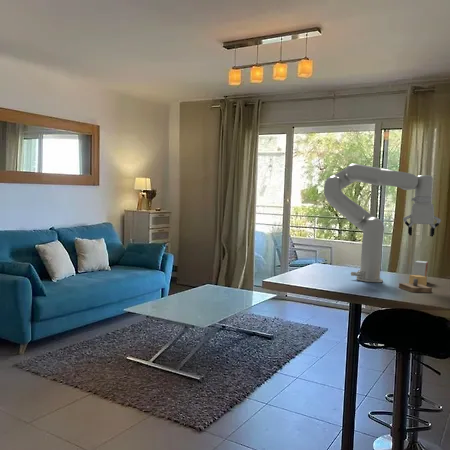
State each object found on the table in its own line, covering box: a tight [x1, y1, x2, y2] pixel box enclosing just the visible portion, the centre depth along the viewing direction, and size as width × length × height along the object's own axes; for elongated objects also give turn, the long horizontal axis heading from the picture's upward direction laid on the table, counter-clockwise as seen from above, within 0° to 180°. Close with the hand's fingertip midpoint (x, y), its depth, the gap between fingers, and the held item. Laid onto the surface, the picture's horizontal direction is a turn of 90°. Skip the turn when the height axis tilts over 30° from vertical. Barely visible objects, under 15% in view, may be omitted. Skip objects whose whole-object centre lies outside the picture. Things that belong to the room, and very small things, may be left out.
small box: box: [412, 260, 429, 278], centre depth 231 cm, size 8×6×10 cm
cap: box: [408, 274, 428, 286], centre depth 217 cm, size 6×6×5 cm
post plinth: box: [398, 279, 433, 293], centre depth 207 cm, size 10×10×5 cm
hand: (420, 235), depth 221 cm, fingers open, 9 cm apart
